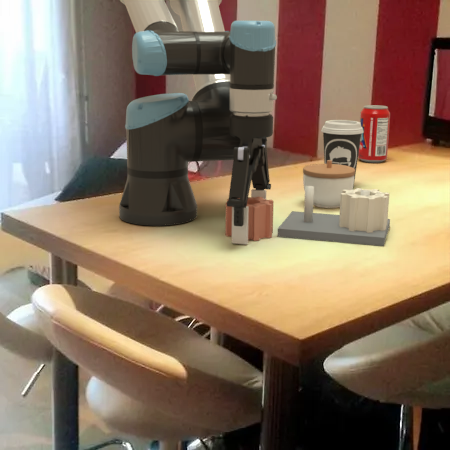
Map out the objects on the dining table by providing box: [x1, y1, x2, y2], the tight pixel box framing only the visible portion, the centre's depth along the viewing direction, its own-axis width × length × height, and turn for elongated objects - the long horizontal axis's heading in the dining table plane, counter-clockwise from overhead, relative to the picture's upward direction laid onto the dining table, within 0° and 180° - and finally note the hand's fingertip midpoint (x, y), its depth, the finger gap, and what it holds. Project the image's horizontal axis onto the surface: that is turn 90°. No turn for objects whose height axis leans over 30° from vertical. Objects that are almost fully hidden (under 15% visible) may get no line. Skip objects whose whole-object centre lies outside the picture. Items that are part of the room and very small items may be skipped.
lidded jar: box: [302, 160, 356, 209], centre depth 153 cm, size 11×11×9 cm
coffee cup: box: [320, 119, 364, 189], centre depth 169 cm, size 10×10×15 cm
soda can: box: [358, 104, 391, 164], centre depth 202 cm, size 8×8×15 cm
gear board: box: [276, 186, 391, 247], centre depth 134 cm, size 19×13×8 cm
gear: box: [224, 196, 274, 242], centre depth 132 cm, size 8×8×6 cm
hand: (249, 233), depth 133 cm, fingers open, 12 cm apart
